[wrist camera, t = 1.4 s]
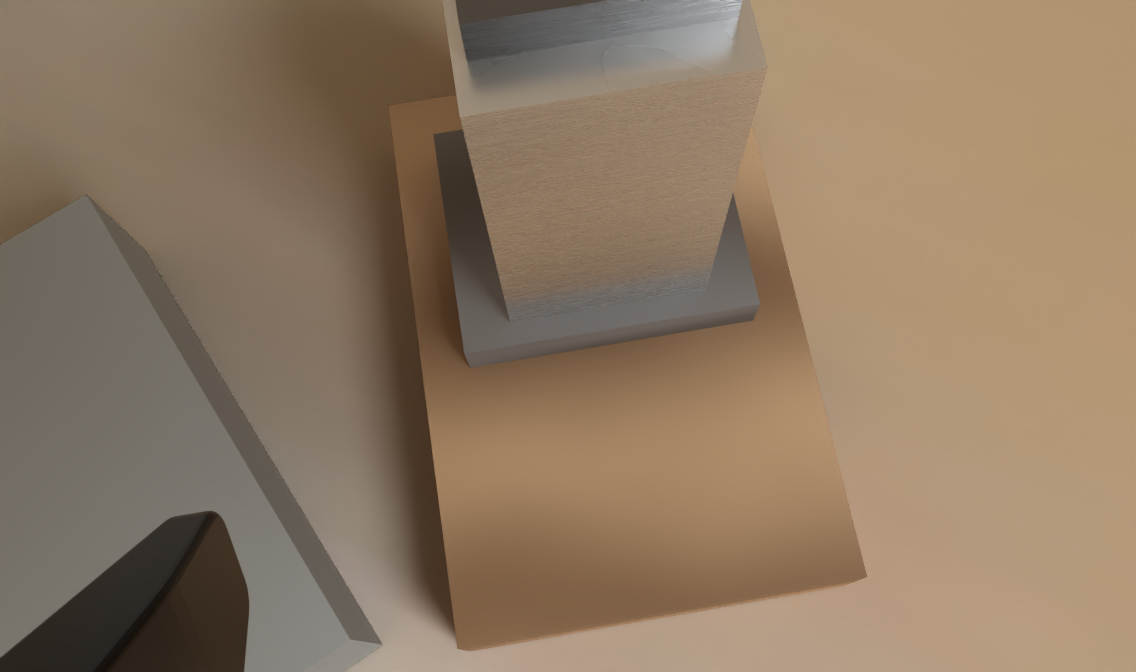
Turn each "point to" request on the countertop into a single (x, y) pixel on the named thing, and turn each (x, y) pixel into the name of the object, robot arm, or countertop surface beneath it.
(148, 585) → the robot arm
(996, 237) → the countertop surface
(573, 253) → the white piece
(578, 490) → the tan wooden board
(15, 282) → the block
